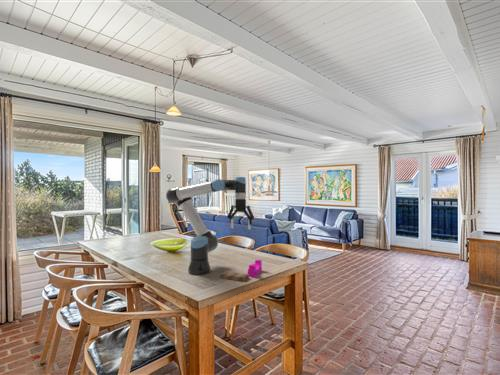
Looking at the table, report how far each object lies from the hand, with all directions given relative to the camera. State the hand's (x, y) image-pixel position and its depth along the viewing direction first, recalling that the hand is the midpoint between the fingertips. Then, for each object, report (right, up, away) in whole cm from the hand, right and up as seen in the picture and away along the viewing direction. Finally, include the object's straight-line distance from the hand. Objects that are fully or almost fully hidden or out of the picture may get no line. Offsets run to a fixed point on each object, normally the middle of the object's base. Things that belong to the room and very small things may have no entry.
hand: (240, 228), depth 195 cm
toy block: (+9, -29, -9) cm, 32 cm away
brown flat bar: (-3, -29, -19) cm, 34 cm away
